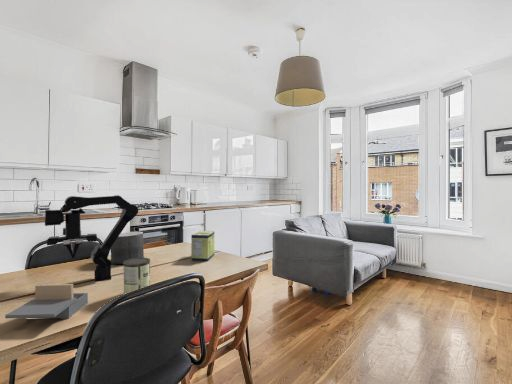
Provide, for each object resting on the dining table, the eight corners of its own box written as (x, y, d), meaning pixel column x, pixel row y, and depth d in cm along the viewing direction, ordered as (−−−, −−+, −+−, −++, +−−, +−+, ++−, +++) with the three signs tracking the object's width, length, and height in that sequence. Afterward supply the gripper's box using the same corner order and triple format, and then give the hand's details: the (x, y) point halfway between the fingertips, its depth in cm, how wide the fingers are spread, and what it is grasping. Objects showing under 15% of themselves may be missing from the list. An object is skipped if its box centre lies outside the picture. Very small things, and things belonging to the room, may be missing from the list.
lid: (34, 301, 98) (34, 284, 97) (76, 300, 99) (76, 283, 99) (5, 318, 85) (4, 299, 85) (54, 317, 86) (54, 298, 86)
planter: (140, 262, 157) (139, 235, 157) (106, 265, 153) (105, 237, 153) (146, 255, 174) (145, 231, 174) (116, 258, 171) (115, 232, 171)
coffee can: (129, 289, 120) (129, 257, 120) (153, 289, 121) (153, 257, 120) (118, 299, 110) (118, 264, 110) (144, 299, 110) (144, 264, 110)
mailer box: (49, 304, 105) (49, 293, 105) (87, 303, 106) (87, 292, 106) (25, 319, 93) (25, 307, 93) (69, 318, 94) (68, 306, 94)
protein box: (214, 254, 180) (214, 231, 180) (207, 261, 165) (208, 235, 164) (199, 254, 181) (199, 230, 181) (191, 260, 166) (191, 235, 166)
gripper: (96, 220, 137) (97, 251, 137) (50, 222, 128) (50, 256, 128) (96, 223, 127) (97, 256, 128) (46, 226, 118) (46, 262, 119)
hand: (73, 257), depth 126 cm, fingers closed
